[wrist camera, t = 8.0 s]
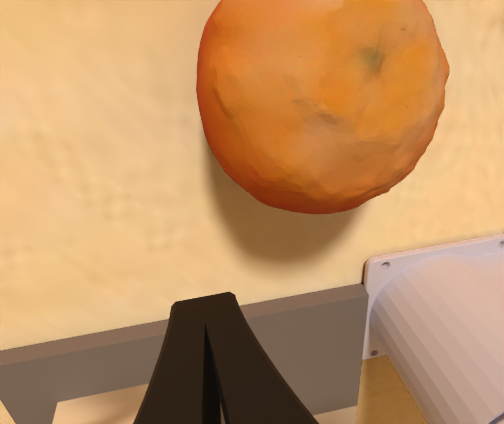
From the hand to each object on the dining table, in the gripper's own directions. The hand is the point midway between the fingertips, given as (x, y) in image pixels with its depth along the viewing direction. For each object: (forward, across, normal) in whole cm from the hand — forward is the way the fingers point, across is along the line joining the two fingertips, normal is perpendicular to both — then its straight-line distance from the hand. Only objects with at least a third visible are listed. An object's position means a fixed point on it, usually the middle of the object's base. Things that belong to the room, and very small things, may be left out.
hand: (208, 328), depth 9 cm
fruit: (+10, -5, -3) cm, 11 cm away
